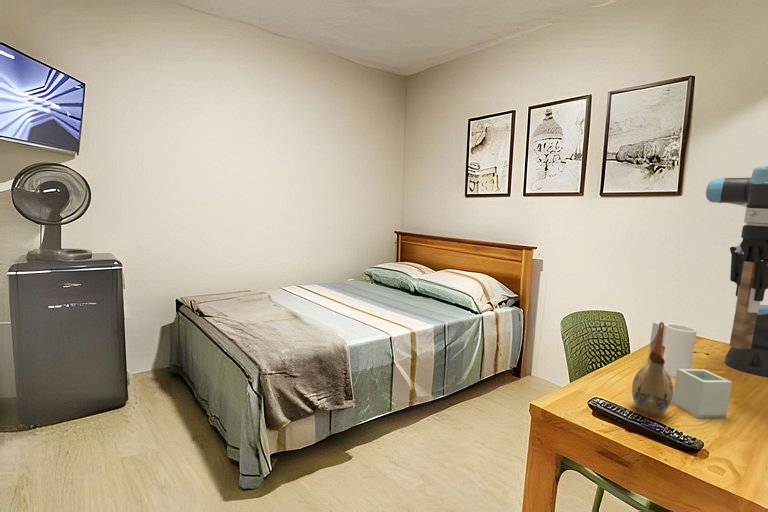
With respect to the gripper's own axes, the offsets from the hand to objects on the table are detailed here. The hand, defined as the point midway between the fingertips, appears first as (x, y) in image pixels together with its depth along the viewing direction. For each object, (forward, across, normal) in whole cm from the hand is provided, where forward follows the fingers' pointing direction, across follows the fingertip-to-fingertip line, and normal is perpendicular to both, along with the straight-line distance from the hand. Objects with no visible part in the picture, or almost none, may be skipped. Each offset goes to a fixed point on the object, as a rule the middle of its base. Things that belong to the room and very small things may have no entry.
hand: (746, 310), depth 113 cm
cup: (+28, -22, +3) cm, 36 cm away
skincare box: (+28, -30, +6) cm, 41 cm away
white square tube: (+28, +2, -12) cm, 30 cm away
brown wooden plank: (+11, 0, 0) cm, 11 cm away
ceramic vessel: (+28, +3, -28) cm, 40 cm away
